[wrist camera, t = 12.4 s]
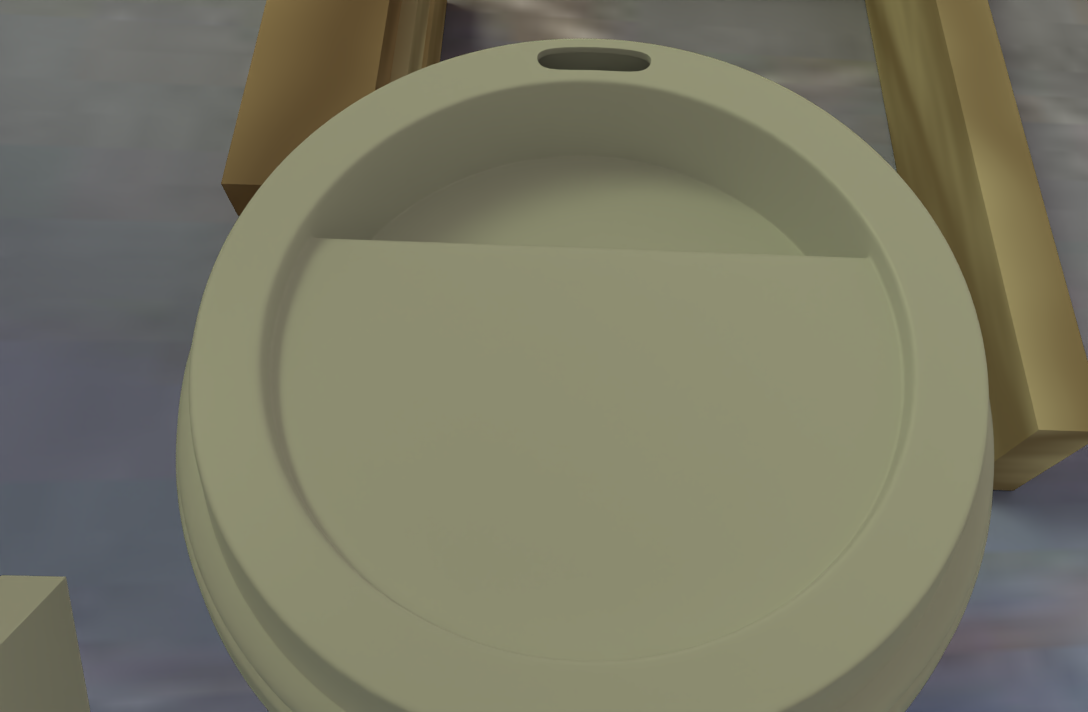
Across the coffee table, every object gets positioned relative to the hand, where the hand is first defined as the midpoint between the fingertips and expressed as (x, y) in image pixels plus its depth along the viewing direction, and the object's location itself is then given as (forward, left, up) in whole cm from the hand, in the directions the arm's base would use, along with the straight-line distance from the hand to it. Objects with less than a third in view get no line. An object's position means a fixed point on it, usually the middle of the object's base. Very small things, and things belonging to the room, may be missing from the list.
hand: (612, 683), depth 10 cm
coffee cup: (0, +3, -12) cm, 12 cm away
